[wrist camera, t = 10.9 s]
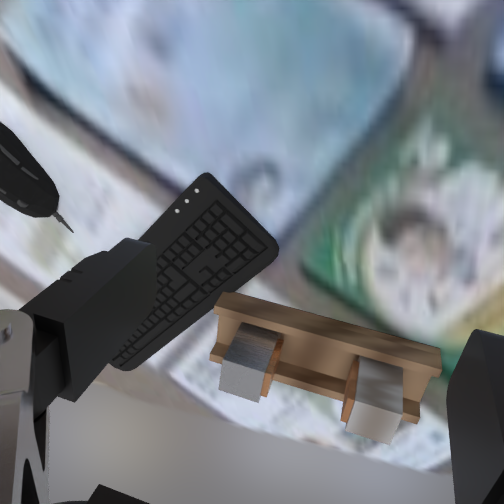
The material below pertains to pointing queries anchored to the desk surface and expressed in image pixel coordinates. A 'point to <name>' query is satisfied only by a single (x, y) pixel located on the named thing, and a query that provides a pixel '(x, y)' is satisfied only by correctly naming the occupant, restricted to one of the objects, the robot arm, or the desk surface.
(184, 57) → the desk surface
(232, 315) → the rail
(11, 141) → the gaming mouse
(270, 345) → the gray metallic block
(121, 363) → the keyboard
